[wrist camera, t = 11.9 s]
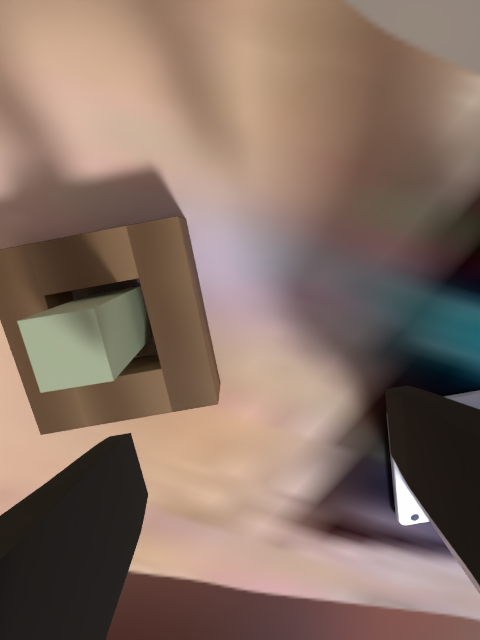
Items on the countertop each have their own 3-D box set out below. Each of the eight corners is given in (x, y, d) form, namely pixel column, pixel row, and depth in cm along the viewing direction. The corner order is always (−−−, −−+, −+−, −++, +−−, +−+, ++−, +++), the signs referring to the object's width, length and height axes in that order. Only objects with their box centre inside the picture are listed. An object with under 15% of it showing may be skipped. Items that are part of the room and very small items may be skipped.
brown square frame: (186, 219, 17) (177, 215, 15) (220, 383, 19) (218, 404, 17) (13, 252, 17) (-23, 254, 15) (65, 410, 19) (40, 434, 17)
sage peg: (140, 285, 18) (93, 308, 12) (152, 336, 18) (113, 380, 13) (88, 294, 18) (17, 321, 12) (101, 344, 19) (40, 392, 13)
